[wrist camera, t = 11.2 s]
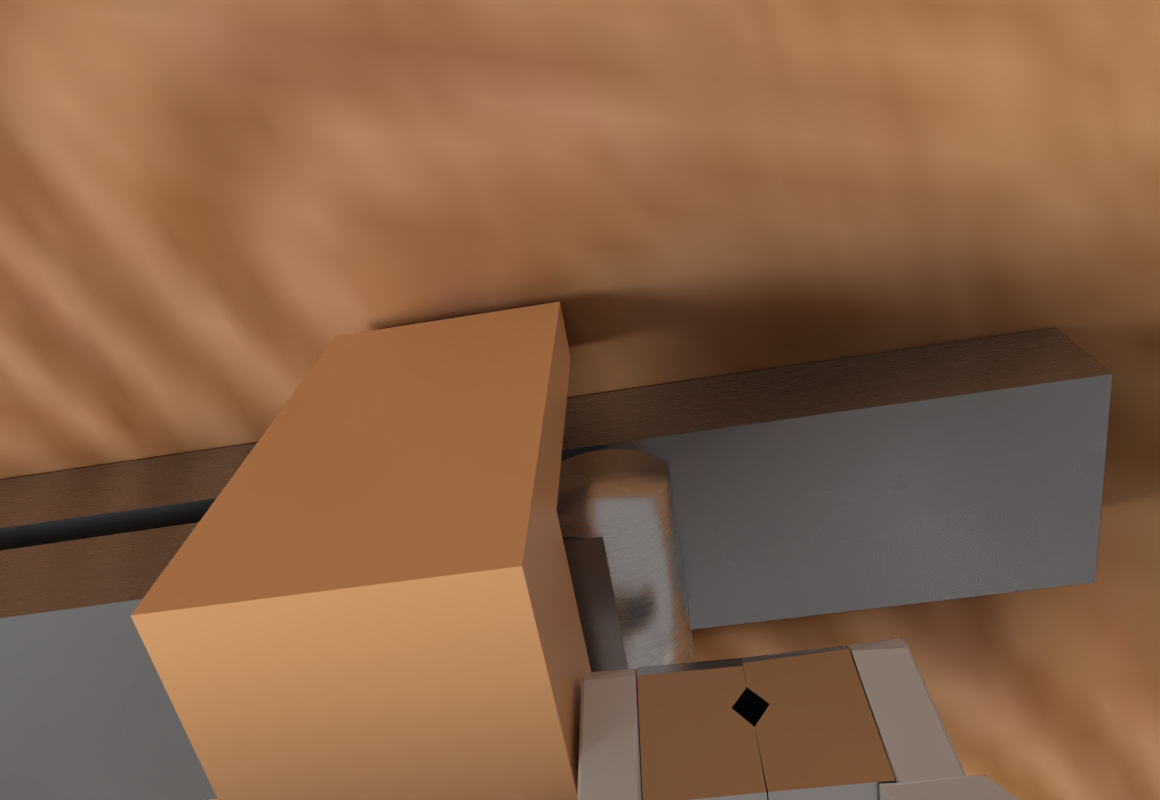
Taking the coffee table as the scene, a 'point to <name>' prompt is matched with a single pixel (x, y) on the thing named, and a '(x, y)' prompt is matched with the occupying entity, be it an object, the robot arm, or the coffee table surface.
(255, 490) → the tan hook block
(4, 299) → the coffee table surface
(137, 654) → the tongs upper arm
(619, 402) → the tongs lower arm
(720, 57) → the coffee table surface
